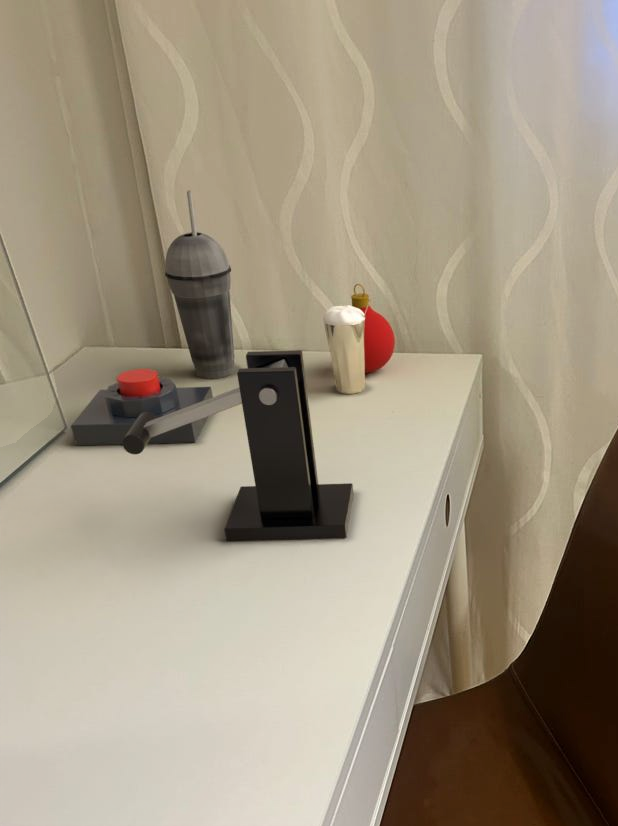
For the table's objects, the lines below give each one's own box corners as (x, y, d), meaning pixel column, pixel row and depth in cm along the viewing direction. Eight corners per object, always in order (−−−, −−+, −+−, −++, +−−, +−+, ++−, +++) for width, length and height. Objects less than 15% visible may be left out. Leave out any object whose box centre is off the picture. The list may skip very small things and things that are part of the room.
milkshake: (372, 397, 107) (364, 305, 102) (325, 395, 108) (315, 304, 103) (382, 383, 111) (375, 293, 105) (337, 381, 112) (327, 292, 106)
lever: (131, 461, 78) (115, 435, 77) (147, 436, 82) (132, 411, 81) (291, 402, 76) (278, 374, 74) (299, 380, 80) (286, 352, 79)
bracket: (226, 541, 81) (195, 380, 73) (242, 498, 87) (216, 346, 80) (346, 537, 81) (328, 376, 73) (353, 495, 88) (338, 343, 80)
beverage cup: (229, 357, 119) (199, 180, 108) (258, 372, 115) (230, 189, 103) (173, 371, 116) (137, 189, 104) (201, 387, 111) (166, 198, 100)
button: (115, 399, 98) (111, 382, 97) (126, 385, 102) (122, 369, 101) (155, 398, 98) (151, 381, 97) (164, 384, 102) (161, 368, 101)
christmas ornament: (324, 374, 114) (314, 286, 108) (363, 357, 119) (356, 272, 113) (369, 385, 111) (362, 296, 105) (408, 367, 115) (403, 281, 110)
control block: (76, 445, 98) (65, 408, 96) (104, 408, 106) (95, 373, 104) (195, 442, 98) (187, 404, 96) (214, 405, 106) (208, 370, 104)
